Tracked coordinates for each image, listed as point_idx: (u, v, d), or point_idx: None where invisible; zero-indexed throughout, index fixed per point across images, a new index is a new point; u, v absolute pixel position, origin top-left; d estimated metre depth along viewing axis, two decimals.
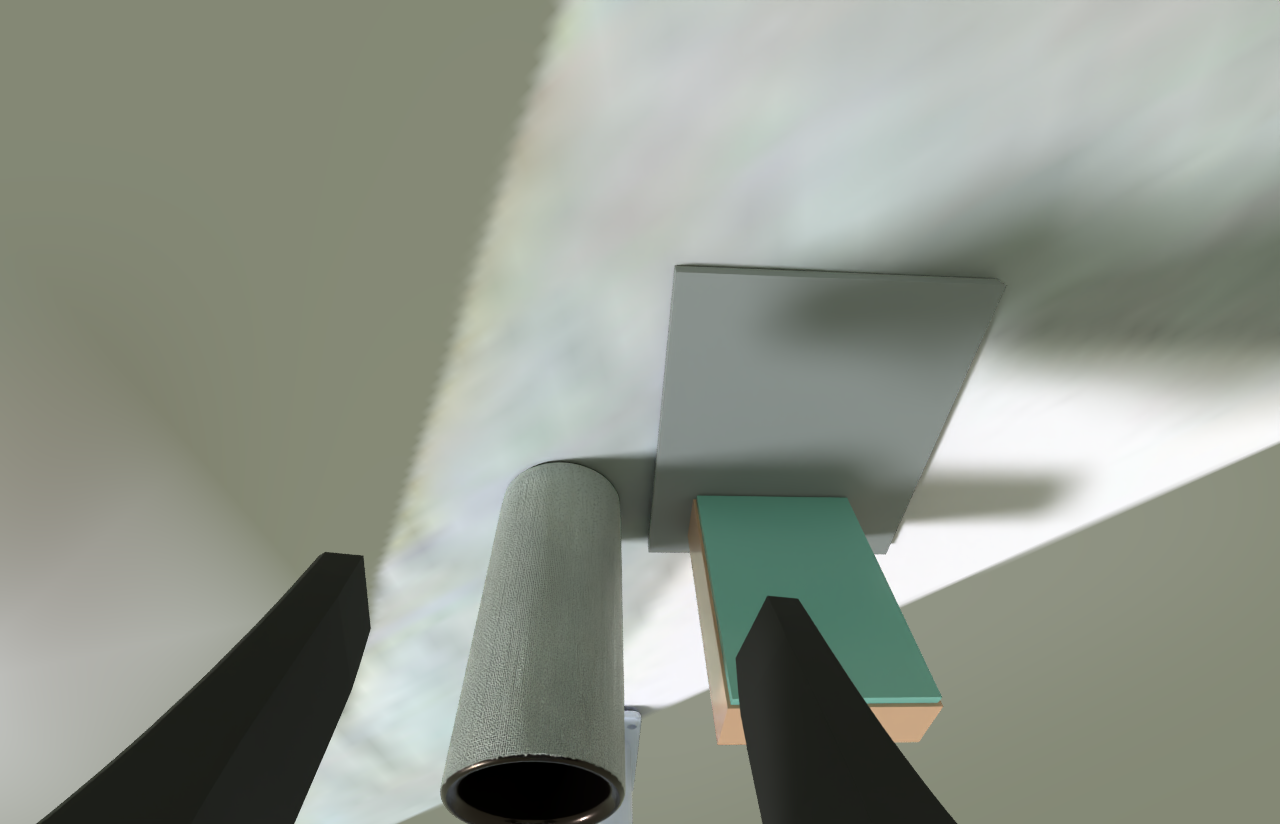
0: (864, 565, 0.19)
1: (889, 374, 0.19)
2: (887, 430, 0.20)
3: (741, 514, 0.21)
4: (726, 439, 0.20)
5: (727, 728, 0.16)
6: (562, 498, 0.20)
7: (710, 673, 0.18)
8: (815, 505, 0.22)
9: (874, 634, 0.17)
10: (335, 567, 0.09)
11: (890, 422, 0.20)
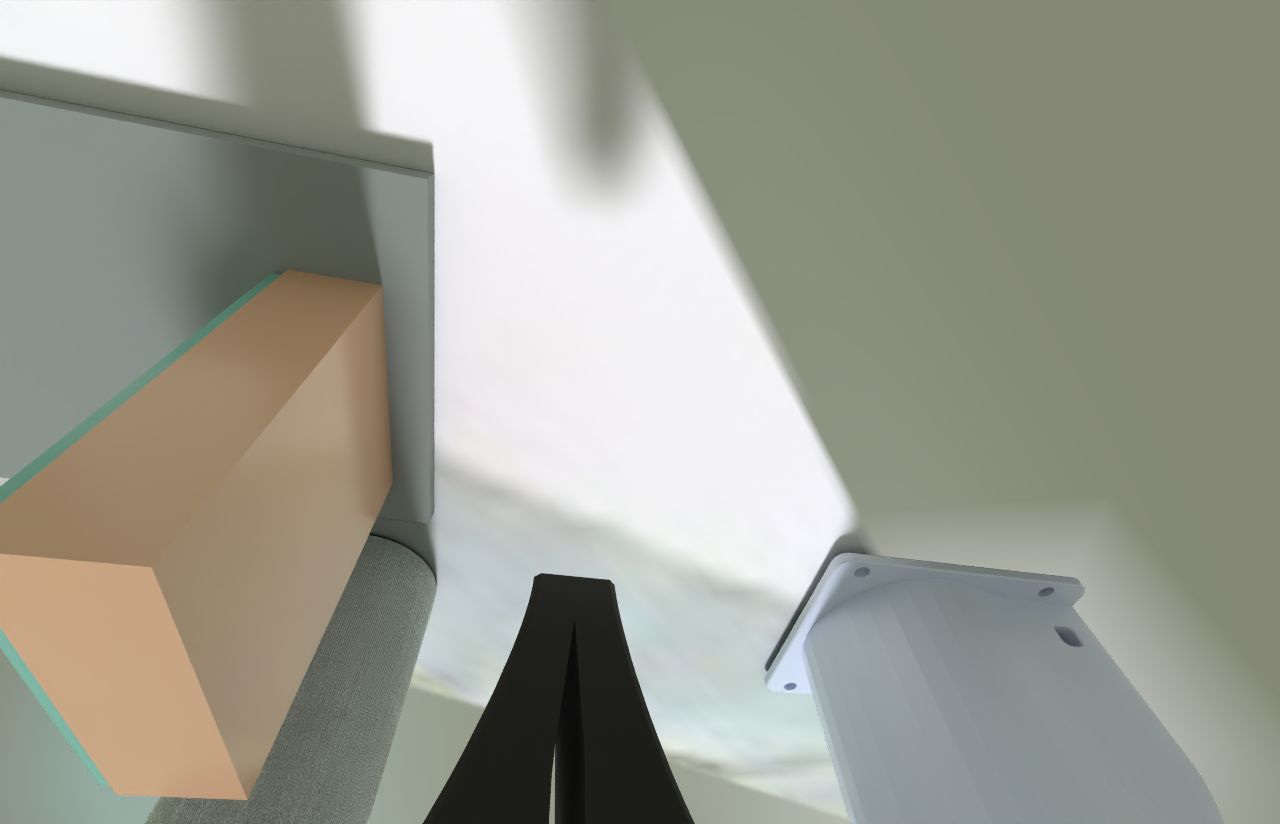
0: None
1: None
2: (104, 215, 0.12)
3: None
4: None
5: (185, 793, 0.10)
6: None
7: None
8: None
9: None
10: (558, 588, 0.10)
11: (84, 212, 0.12)
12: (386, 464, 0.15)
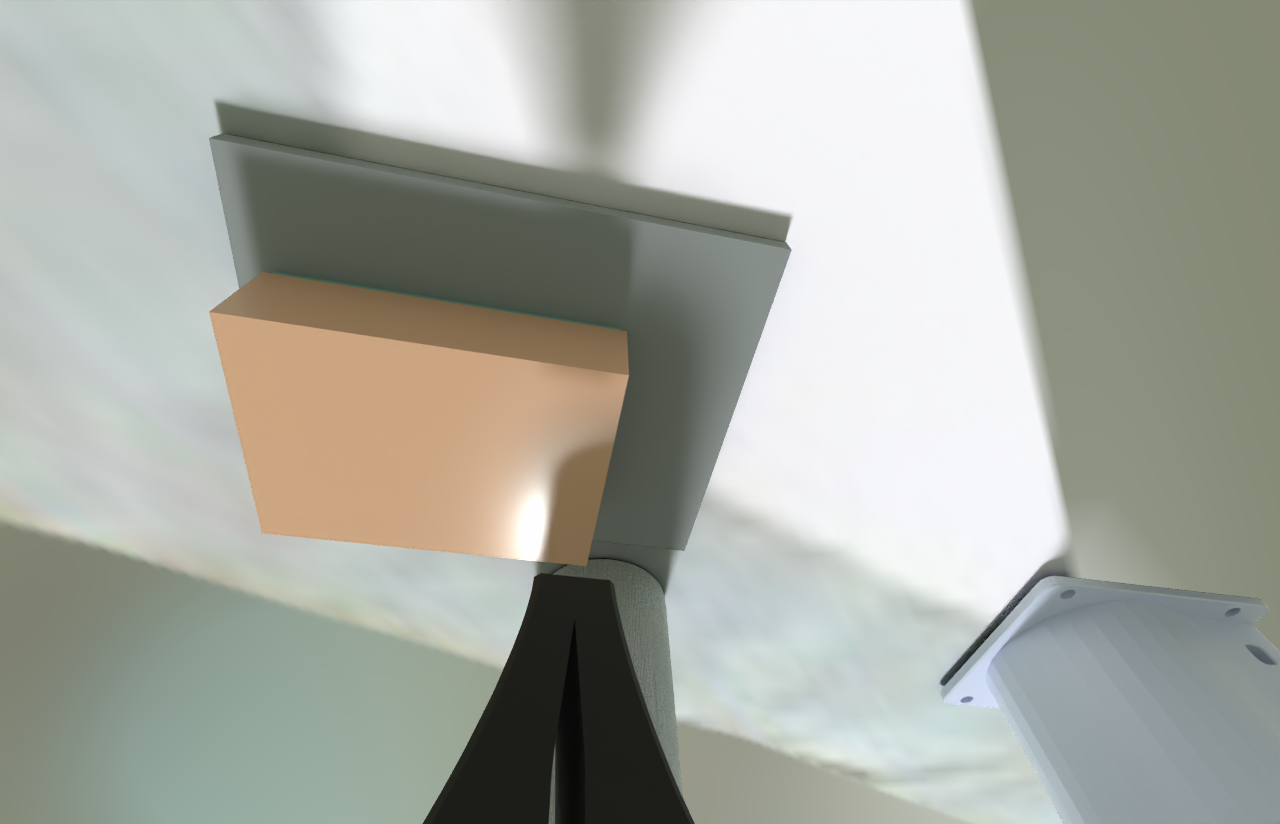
0: None
1: None
2: (493, 282, 0.13)
3: None
4: None
5: None
6: None
7: None
8: None
9: None
10: (559, 588, 0.10)
11: (477, 278, 0.13)
12: (575, 537, 0.15)
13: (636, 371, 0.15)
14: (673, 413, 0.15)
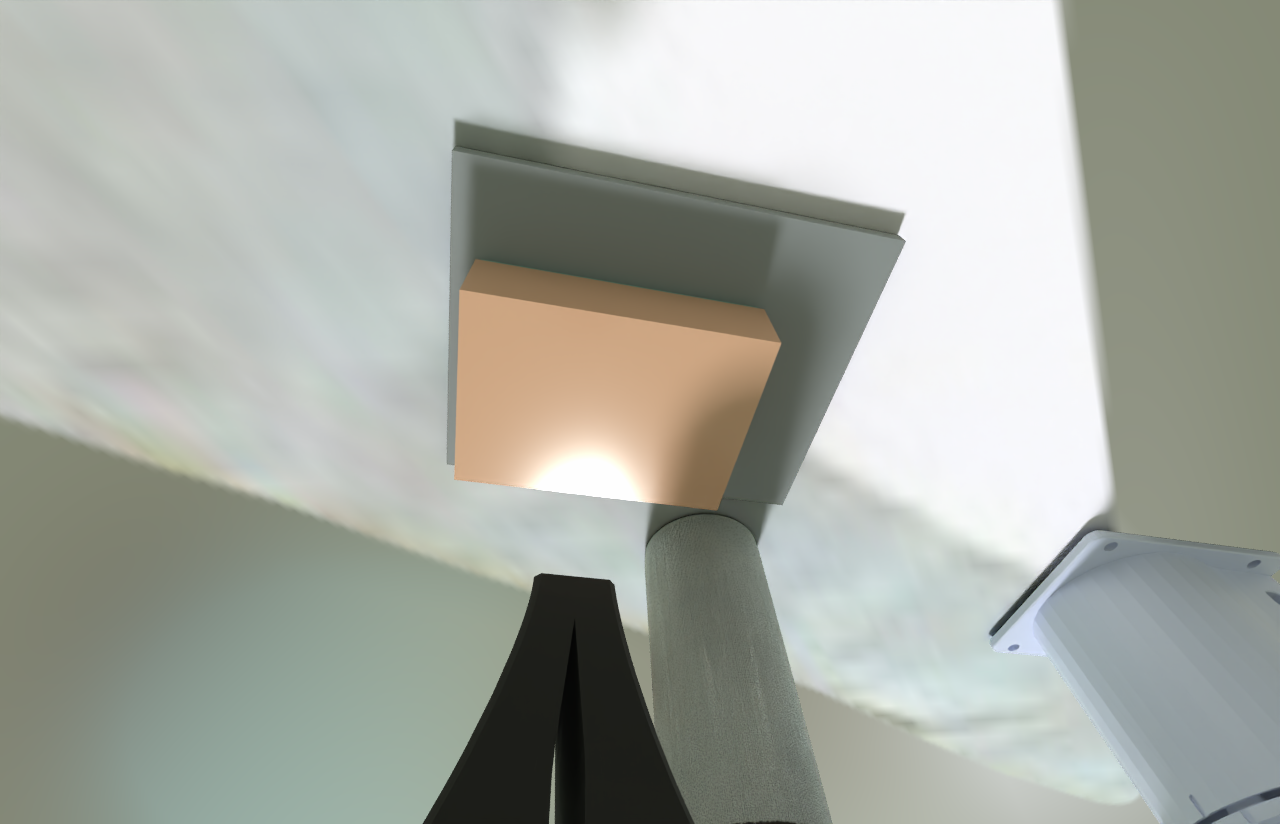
0: None
1: None
2: (657, 268, 0.16)
3: None
4: None
5: None
6: (649, 584, 0.21)
7: None
8: None
9: None
10: (558, 589, 0.10)
11: (645, 265, 0.16)
12: (712, 484, 0.17)
13: None
14: (790, 381, 0.18)
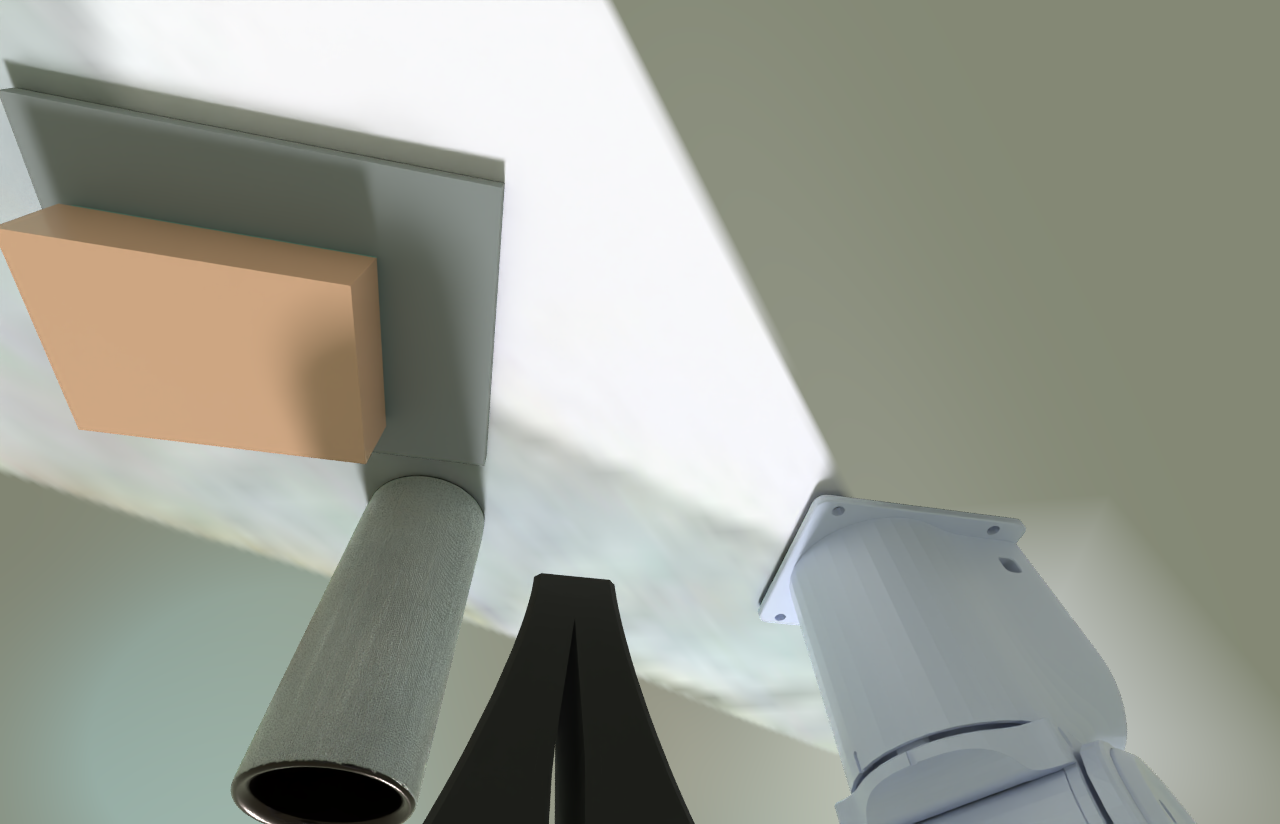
0: None
1: None
2: (257, 215, 0.16)
3: None
4: None
5: None
6: None
7: None
8: None
9: None
10: (558, 589, 0.10)
11: (243, 212, 0.16)
12: (348, 435, 0.17)
13: (398, 295, 0.17)
14: (440, 334, 0.18)
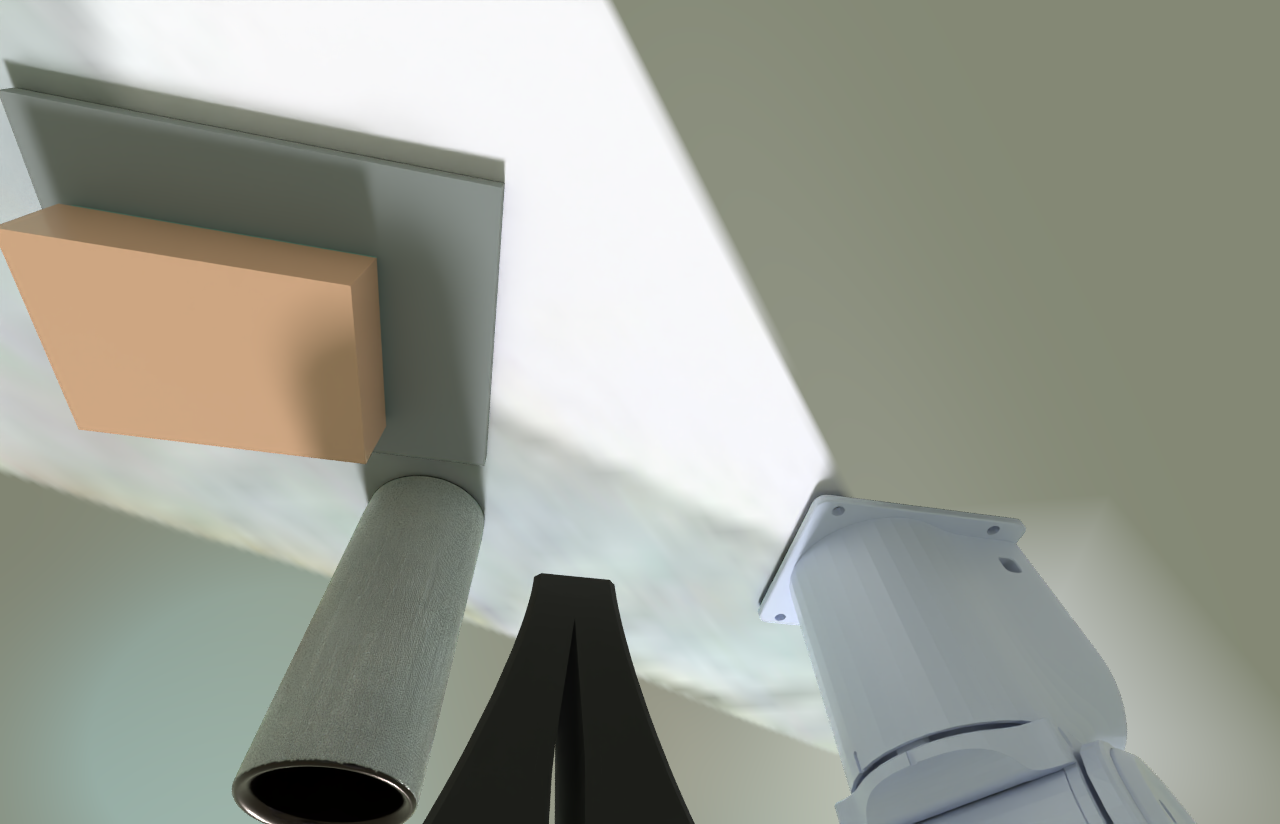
0: None
1: None
2: (257, 215, 0.16)
3: None
4: None
5: None
6: None
7: None
8: None
9: None
10: (558, 589, 0.10)
11: (243, 212, 0.16)
12: (348, 435, 0.17)
13: (398, 295, 0.17)
14: (440, 334, 0.18)
